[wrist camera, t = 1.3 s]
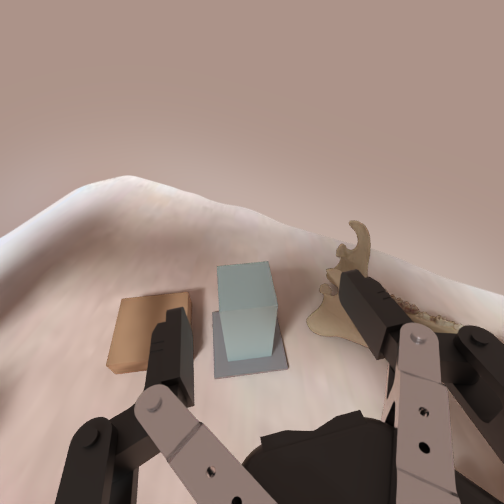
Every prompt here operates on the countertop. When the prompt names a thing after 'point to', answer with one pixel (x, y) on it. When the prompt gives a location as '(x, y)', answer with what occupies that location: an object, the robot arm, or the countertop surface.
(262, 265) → the block
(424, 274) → the countertop surface
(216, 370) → the gray tile
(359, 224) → the jawbone
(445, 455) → the robot arm
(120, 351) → the stand
